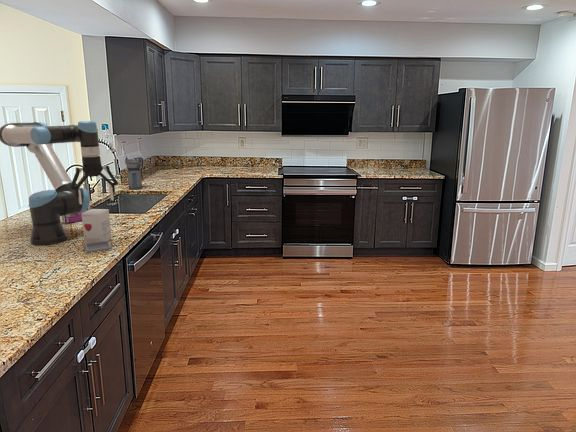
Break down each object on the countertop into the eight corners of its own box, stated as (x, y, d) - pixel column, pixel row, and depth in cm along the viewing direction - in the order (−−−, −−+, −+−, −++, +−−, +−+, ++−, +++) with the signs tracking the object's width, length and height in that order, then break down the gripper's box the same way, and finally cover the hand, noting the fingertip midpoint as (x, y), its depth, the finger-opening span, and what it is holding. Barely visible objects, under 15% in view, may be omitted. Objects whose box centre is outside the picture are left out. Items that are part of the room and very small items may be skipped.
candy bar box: (66, 224, 224) (61, 194, 220) (62, 222, 227) (57, 193, 223) (86, 220, 233) (82, 191, 228) (82, 218, 236) (78, 190, 231)
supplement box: (84, 244, 191) (80, 213, 187) (94, 238, 200) (90, 208, 196) (103, 244, 191) (99, 213, 187) (112, 238, 199) (109, 208, 195)
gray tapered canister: (145, 189, 321) (143, 157, 315) (127, 190, 317) (124, 157, 310) (145, 186, 330) (142, 155, 324) (127, 188, 326) (124, 156, 320)
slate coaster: (87, 253, 179) (86, 250, 178) (84, 247, 187) (84, 244, 187) (111, 249, 184) (111, 246, 183) (108, 243, 192) (108, 240, 191)
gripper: (61, 158, 176) (68, 206, 182) (122, 155, 190) (126, 199, 196) (58, 157, 182) (65, 203, 188) (117, 153, 196) (122, 197, 202)
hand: (96, 201), depth 192 cm, fingers open, 13 cm apart
